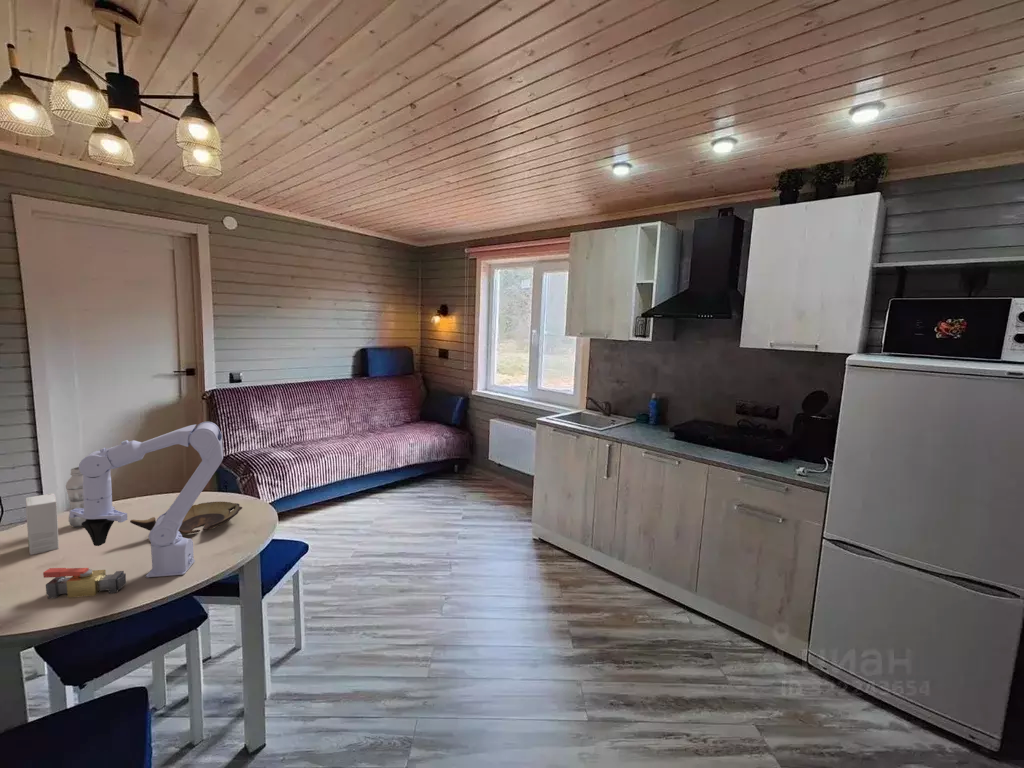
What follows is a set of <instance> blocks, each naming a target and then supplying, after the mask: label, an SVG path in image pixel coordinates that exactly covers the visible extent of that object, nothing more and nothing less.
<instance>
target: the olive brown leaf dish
mask: <svg viewBox="0 0 1024 768" xmlns="http://www.w3.org/2000/svg"><path fill="white" fill-rule="evenodd" d="M242 509H243V507H242V506H240V503H235V502H231V501H229V502H228V501H210V502H209V501H207V502H202V503H201V502H200V503H198V504H193V505H192V507H191V508H190V510H189V511H188V513H187V514H186V516H185V517H184V519H183V521H182V525H181V526H180V528H179V530H178V531H179V532H180V533H181V534H182V535H188V534H195V533H196V534H198V533H200V532H201V529H196V528H199V527H201V526H202V527H203V528H202V531H203V532H205V531H210V530H212V529H215V528H217V527H220V526H221V525H223V524H225V523H227V522H228V521H230V520H232V519H233V518H234V517H236V516H237V515H238V513H239V512H240V511H241V510H242ZM156 521H157V519H156V517H155V516H152V517H150V518H148V519H131V520H129V523H131V524H132V525H135V526H137V527H139V528H142V529H146V530H147V531H149V532H150V531H151V530H152V529H153V527H154V525H155V524H156ZM194 529H195V530H194Z"/></svg>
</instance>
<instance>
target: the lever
mask: <svg viewBox="0 0 1024 768" xmlns="http://www.w3.org/2000/svg"><path fill="white" fill-rule="evenodd" d="M92 570H93V569H91V568H90V567H75V568H74V567H72V568H69V567H67V568H66V567H50V568H48V569H46V570H45V571H43V573H42V575H43V578H44V579H45V578H55V577H61V576H65V577H72V576H80V577H87V576H90V575H92V573H93V572H92Z"/></svg>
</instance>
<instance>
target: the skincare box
mask: <svg viewBox="0 0 1024 768" xmlns="http://www.w3.org/2000/svg"><path fill="white" fill-rule="evenodd" d="M57 504H58V503H57V497H56V495H55V493H48V494H47V493H46V494H40V495H36V496H28V497H25V513H26V515H25V516H26V529H27V540H28V541H27V542H28V550H29V551H28V552H29V556H33V555H38V554H42V553H45V552H51V551H54V550H58V549H59V527H58V526H59V525H58V524H59V523H58V522H59V521H58V506H57Z"/></svg>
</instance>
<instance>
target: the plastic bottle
mask: <svg viewBox="0 0 1024 768" xmlns="http://www.w3.org/2000/svg"><path fill="white" fill-rule="evenodd" d="M65 489H66V492H67V496H68V500H69V501H68V502H69V511H71V510H73V509H76V508H84V499H83V474H82V473H81V472H80V471H79V466H77V467H73V468H71V469H70V478H69V479H68V480H67V481H66V483H65ZM84 521H86V519H85V518H81V517H75V518H70V513H69V515H68V524H69V525H70V526H71V527H73V528H81V527H83V526H82V522H84Z"/></svg>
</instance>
